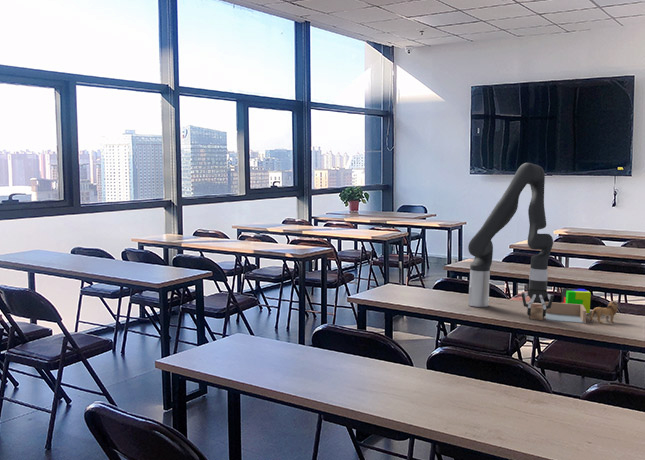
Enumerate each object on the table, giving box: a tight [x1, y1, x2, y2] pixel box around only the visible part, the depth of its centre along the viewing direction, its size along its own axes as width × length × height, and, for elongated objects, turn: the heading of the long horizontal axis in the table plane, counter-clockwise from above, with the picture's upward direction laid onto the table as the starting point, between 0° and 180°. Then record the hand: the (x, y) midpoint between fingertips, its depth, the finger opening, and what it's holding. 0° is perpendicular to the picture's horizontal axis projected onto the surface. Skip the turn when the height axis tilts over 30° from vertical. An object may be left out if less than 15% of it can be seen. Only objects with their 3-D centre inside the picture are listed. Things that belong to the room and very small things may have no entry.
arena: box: [544, 301, 587, 324], centre depth 278 cm, size 16×15×5 cm
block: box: [529, 303, 544, 321], centre depth 276 cm, size 5×5×6 cm
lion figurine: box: [589, 300, 619, 324], centre depth 272 cm, size 15×5×9 cm, turn 112°
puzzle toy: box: [561, 287, 592, 313], centre depth 294 cm, size 10×10×10 cm
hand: (536, 316), depth 277 cm, fingers closed on block, 5 cm apart
